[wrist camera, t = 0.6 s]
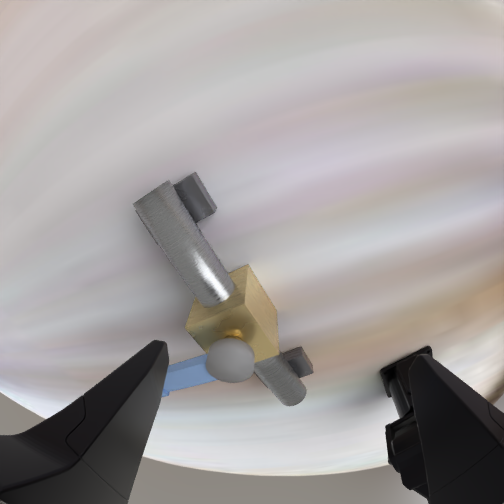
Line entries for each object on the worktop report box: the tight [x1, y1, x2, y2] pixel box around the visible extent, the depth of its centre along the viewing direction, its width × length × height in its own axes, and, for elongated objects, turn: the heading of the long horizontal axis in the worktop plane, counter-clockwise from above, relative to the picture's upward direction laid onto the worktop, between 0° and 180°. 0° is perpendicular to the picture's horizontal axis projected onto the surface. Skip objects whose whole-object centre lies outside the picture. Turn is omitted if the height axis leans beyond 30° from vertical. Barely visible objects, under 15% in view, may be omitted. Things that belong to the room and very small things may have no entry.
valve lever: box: [162, 338, 255, 397], centre depth 18 cm, size 12×3×1 cm, turn 118°
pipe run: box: [133, 172, 314, 406], centre depth 20 cm, size 22×5×6 cm, turn 28°
